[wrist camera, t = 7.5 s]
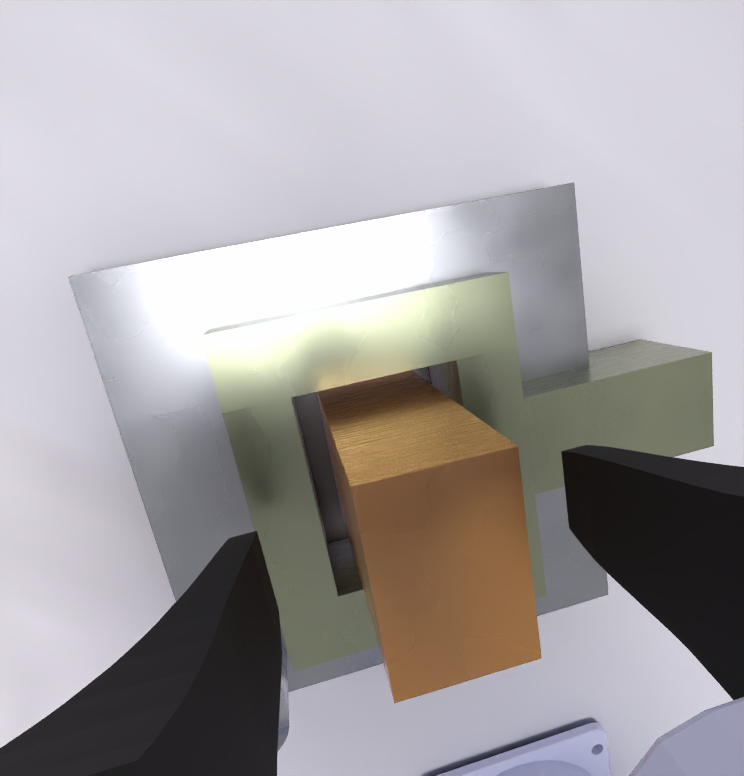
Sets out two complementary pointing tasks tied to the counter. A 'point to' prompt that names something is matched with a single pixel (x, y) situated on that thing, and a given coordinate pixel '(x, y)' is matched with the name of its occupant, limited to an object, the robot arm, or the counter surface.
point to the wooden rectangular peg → (433, 531)
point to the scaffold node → (364, 362)
